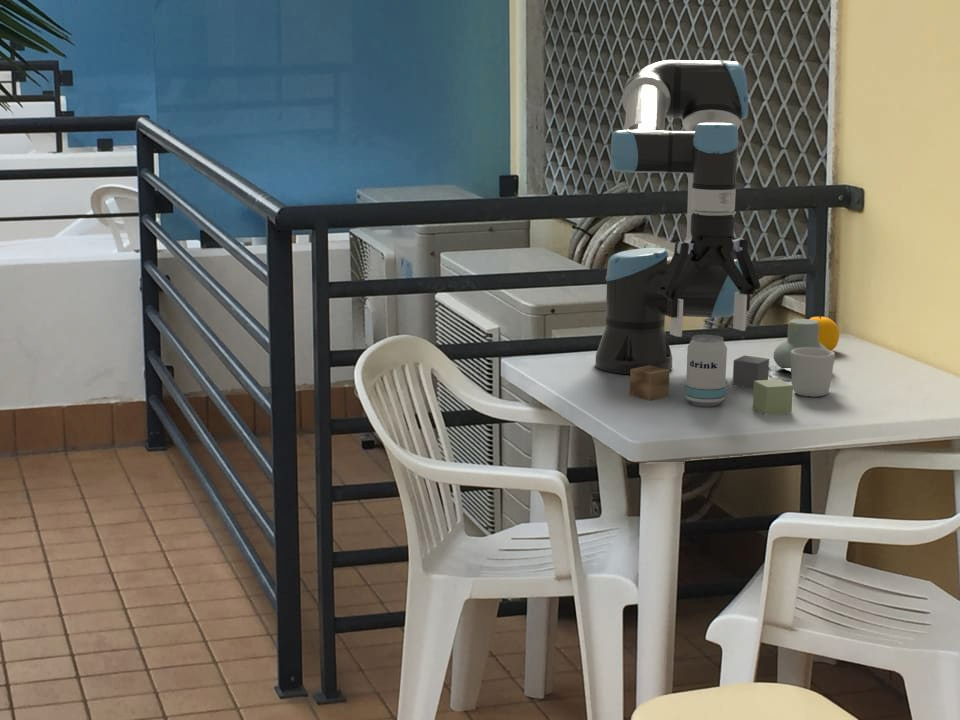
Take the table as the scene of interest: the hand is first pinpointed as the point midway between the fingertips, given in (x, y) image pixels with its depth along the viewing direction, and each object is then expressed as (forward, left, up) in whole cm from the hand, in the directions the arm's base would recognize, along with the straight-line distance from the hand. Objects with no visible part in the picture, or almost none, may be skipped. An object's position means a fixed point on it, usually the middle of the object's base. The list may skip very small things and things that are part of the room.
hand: (707, 332), depth 261 cm
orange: (-26, +47, -13) cm, 56 cm away
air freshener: (-13, +32, -13) cm, 37 cm away
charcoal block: (-8, +16, -13) cm, 22 cm away
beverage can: (0, 0, -13) cm, 13 cm away
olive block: (+9, +8, -13) cm, 18 cm away
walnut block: (-9, -6, -13) cm, 17 cm away
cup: (+2, +23, -13) cm, 27 cm away
